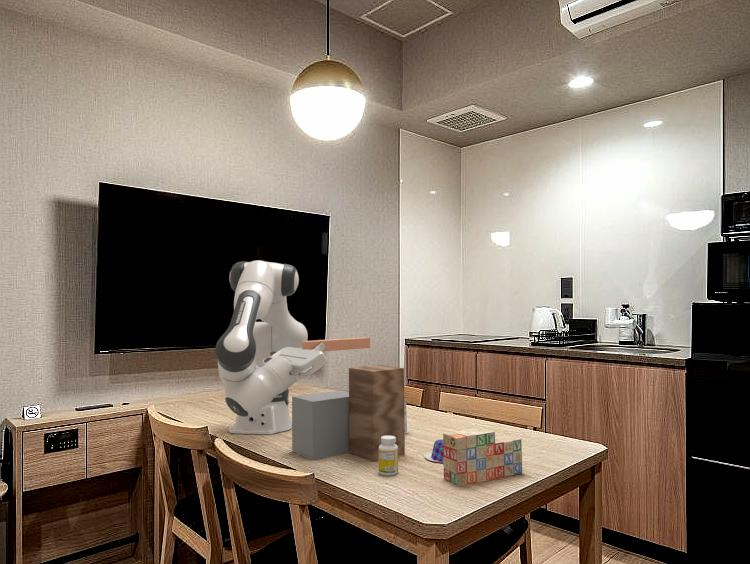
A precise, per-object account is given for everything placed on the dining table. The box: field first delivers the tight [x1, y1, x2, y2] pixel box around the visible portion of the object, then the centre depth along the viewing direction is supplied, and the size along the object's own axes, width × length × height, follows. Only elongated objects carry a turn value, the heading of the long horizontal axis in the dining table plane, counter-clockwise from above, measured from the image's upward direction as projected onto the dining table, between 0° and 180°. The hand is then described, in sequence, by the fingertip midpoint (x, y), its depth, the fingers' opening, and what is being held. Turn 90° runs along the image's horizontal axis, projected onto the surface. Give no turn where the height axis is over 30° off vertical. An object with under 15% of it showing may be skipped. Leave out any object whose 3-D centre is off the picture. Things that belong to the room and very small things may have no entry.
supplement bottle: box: [378, 436, 399, 477], centre depth 153 cm, size 5×5×10 cm
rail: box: [302, 337, 371, 353], centre depth 165 cm, size 22×3×3 cm, turn 128°
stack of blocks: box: [442, 427, 523, 487], centre depth 150 cm, size 21×6×12 cm, turn 117°
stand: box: [348, 364, 406, 463], centre depth 172 cm, size 12×12×26 cm
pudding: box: [424, 438, 444, 464], centre depth 167 cm, size 12×12×5 cm
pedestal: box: [291, 390, 349, 461], centre depth 177 cm, size 18×12×17 cm, turn 128°
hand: (319, 344), depth 161 cm, fingers closed on rail, 3 cm apart
